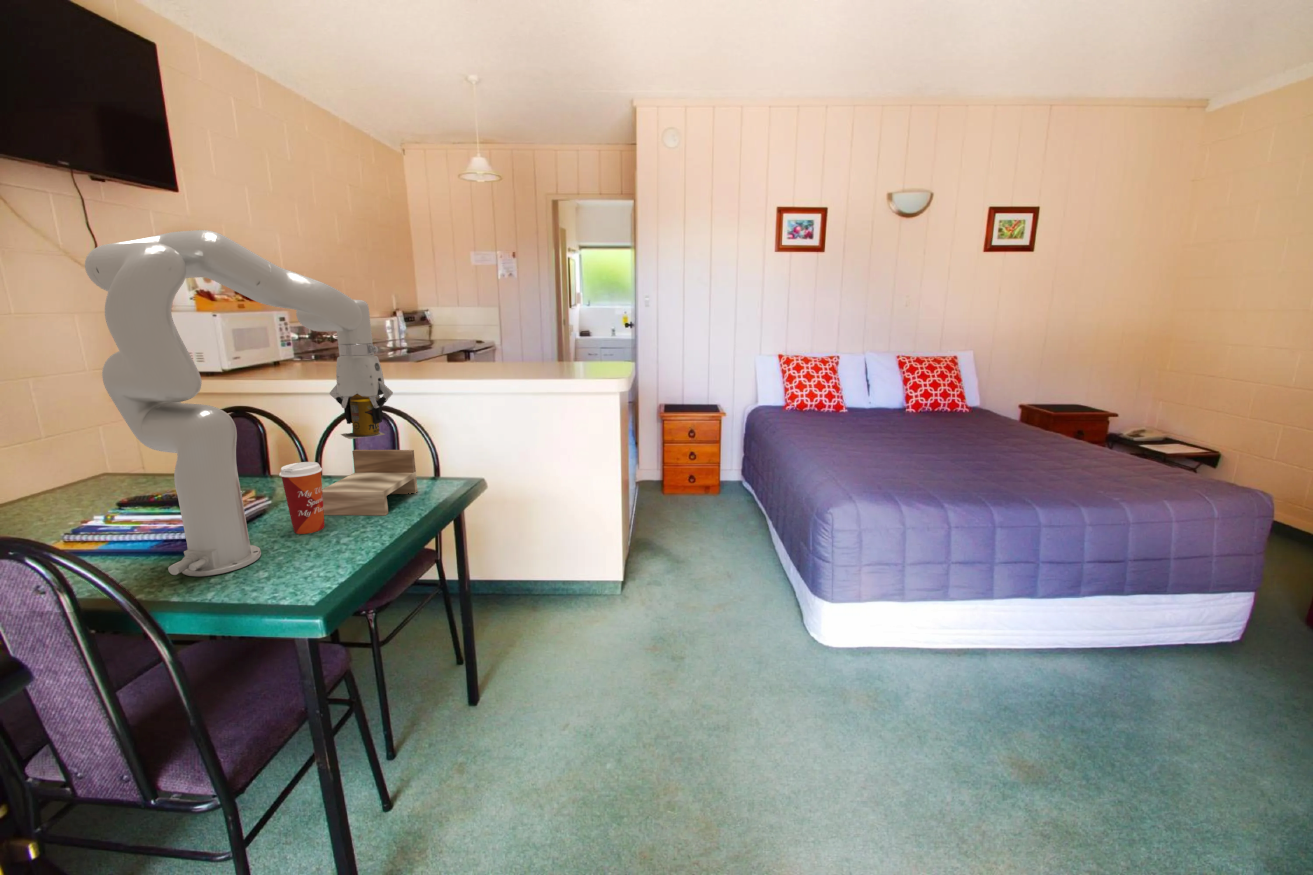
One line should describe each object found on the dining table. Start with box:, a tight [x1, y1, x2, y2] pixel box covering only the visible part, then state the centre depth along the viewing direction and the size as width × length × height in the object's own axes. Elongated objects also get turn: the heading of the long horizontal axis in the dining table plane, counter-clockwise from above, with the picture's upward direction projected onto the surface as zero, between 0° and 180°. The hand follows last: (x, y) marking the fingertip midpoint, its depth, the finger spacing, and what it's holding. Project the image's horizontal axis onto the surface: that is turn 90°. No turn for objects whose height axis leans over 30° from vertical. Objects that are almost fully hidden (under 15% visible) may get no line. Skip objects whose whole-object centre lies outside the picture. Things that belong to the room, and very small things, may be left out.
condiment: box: [340, 394, 386, 440], centre depth 142 cm, size 7×8×12 cm
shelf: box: [322, 449, 419, 516], centre depth 145 cm, size 18×16×12 cm
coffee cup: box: [278, 461, 325, 535], centre depth 127 cm, size 8×8×15 cm
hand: (364, 422), depth 142 cm, fingers closed on condiment, 6 cm apart
